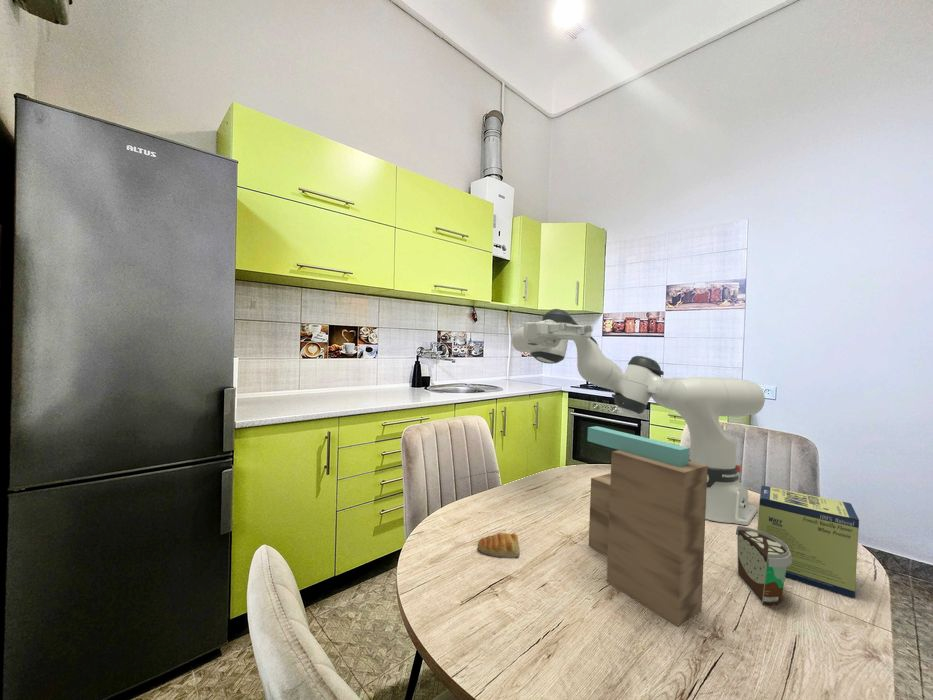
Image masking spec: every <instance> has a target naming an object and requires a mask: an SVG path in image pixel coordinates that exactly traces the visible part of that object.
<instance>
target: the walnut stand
mask: <svg viewBox="0 0 933 700" xmlns="http://www.w3.org/2000/svg"><path fill="white" fill-rule="evenodd" d="M610 461H611V462H610V463H611V465H610V473H607V474H604V475H598V476H594V477H591V478H590V494H589V495H590V500H589V525H588V526H589V527H588V529H589V530H588V547H589V548H591V549H593V550H595V551H596V552H599V553H600V554H601V555H604V556H605V557H607V564H606V566H607V567H606V582H607V583H608V584H609V585H611V586H612V587H614V588H616V589H617V590H618V591H621V592H622V593H623V594H625V595H626V596H628V597H630V598H632V599H633V600H635V601H636V602H637V603H639V604H641V605H643V606H644V607H646V608H648V610H650V611H652V612H654V613H656V614H657V615H659V616H660V617H662V618H663V619H665V620H667V621H668V622H670V623H671V624H673V625H674V626H675V627H679V626H680V625H681V624H683V623H685V622H687V621H688V620H689V619H690V618H692V617H693V616H695V615H696V614H698V613H699V612H700V611H702V607H703V606H702V605H703V587H704V584H703V582H704V581H703V580H704V562H705V561H704V558H705V557H704V555H705V539H706V538H705V536H706V535H705V534H706V533H705V532H706V519H705V514H706V490H707V466H706V465H703V464H699V463H695V462H691V461H689V465H686V466H682V467H678V466H674V465H670V464H667V463H663V462H660V461H656V460H653V459H649V458H646V457H642V456H639V455H635V454H632V453H628V452H624V451H621V450H617V449H616V450H614V451H611V459H610Z"/></svg>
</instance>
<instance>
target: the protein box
mask: <svg viewBox="0 0 933 700" xmlns="http://www.w3.org/2000/svg"><path fill="white" fill-rule="evenodd" d="M757 513H758V515H757V529H756V530H759V531H762V532H765V533H767V534H770V535H772V536H774V537H776V538H778V539H779V540H781V541H782V542H784V543H785V544H786V545H787V546H788V549H789V551H790V553H791V558H792V563H791V565H789V566H787V568H786V574H785V578H788V579H789V580H790V579H791V580H793V581H797V582H800V583H804V584H807V585H809V586H813V587H816V588H819V589H822V590H825V591H829V592H832V593H835V594H838V595H842V596H844V597H847V598H851V599H853V598H854V599H855V598H856V584H857V583H856V581H857V579H856V578H857V562H858V559H857V558H858V546H859V532H860V531H859V530H860V519H859V517H858V515H857V513H856V510H855V509H854V507H853V504H852V503H850V502H845V501H842V500H836V499H830V498H826V497H820V496H816V495H810V494H807V493H806V494H805V493H800V492H797V491H796V492H795V491H791V490H787V489H782V488H777V487H772V486H767V485H761V489H760V496H759V503H758V512H757Z"/></svg>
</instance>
